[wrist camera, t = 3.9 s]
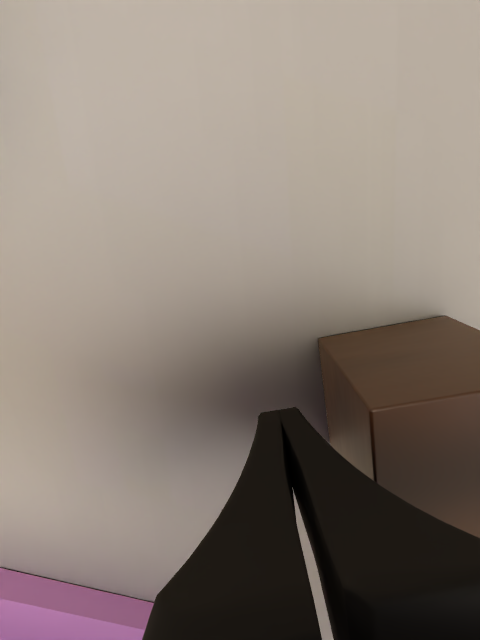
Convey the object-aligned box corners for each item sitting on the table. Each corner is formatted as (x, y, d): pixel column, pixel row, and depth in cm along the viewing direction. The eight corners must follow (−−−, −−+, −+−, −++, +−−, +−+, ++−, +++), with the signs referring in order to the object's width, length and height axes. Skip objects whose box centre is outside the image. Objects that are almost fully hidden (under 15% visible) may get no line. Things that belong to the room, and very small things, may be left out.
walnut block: (444, 424, 14) (558, 533, 9) (329, 443, 14) (380, 560, 9) (446, 314, 12) (583, 374, 7) (317, 337, 12) (369, 410, 8)
